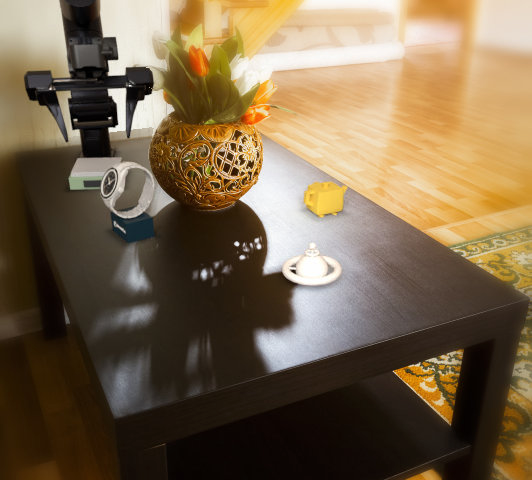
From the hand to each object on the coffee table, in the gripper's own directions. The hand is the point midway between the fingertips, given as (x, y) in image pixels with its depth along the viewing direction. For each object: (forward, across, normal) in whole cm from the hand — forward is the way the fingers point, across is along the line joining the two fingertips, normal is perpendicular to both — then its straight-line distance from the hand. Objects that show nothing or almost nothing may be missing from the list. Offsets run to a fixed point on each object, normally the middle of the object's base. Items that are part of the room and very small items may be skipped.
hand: (98, 139), depth 97 cm
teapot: (+14, +35, 0) cm, 38 cm away
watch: (+15, +3, -1) cm, 15 cm away
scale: (+2, 0, +20) cm, 21 cm away
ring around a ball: (+26, +25, -19) cm, 41 cm away
